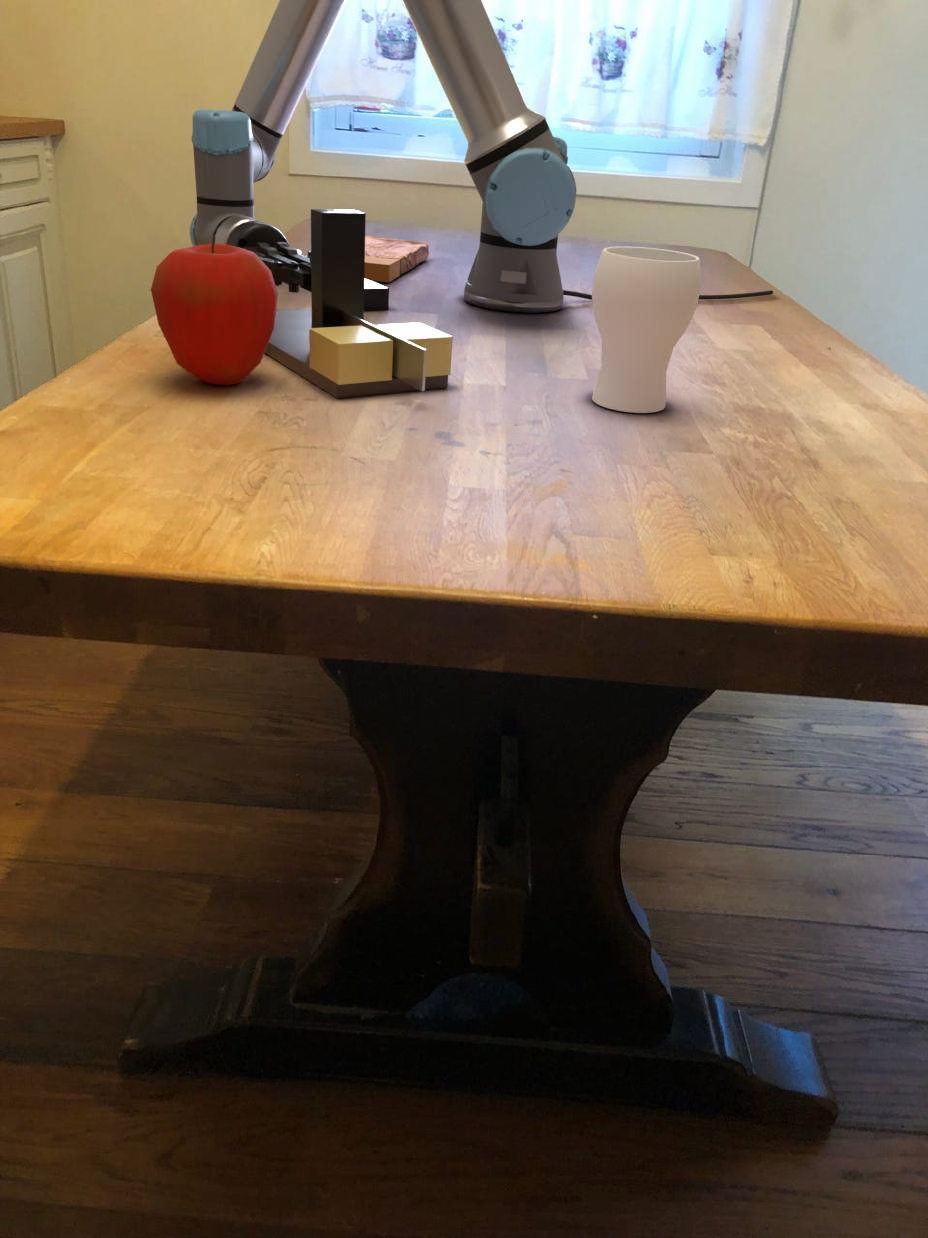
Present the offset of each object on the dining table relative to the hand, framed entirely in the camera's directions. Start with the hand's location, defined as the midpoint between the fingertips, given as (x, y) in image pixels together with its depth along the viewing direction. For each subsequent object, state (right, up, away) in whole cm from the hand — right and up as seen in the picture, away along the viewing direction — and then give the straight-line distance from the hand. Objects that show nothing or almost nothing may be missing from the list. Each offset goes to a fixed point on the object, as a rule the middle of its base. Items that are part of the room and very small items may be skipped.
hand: (329, 285), depth 105 cm
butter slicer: (+5, -10, -5) cm, 12 cm away
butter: (+6, -11, -6) cm, 14 cm away
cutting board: (-1, -6, +5) cm, 8 cm away
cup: (+32, -14, -4) cm, 36 cm away
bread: (-1, +25, +62) cm, 67 cm away
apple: (-10, -13, -8) cm, 18 cm away
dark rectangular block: (-1, +8, +32) cm, 33 cm away
